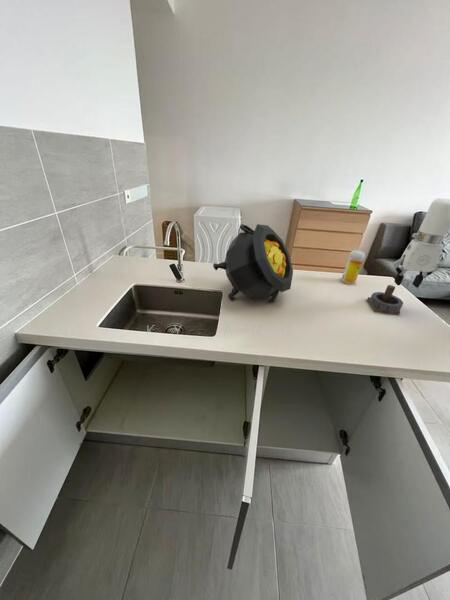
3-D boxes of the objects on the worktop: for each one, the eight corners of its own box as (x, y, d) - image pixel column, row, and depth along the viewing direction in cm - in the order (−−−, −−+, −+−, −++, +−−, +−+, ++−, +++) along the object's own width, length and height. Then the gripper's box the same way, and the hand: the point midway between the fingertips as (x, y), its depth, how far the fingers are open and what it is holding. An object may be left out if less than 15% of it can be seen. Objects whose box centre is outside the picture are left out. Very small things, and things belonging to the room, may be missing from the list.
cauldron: (247, 263, 118) (293, 240, 104) (251, 316, 106) (304, 299, 92) (206, 235, 99) (255, 203, 84) (206, 297, 87) (264, 271, 72)
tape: (393, 299, 101) (396, 293, 100) (405, 313, 92) (408, 308, 91) (366, 295, 103) (368, 290, 101) (375, 309, 94) (377, 304, 92)
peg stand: (389, 302, 102) (398, 282, 97) (398, 314, 94) (409, 293, 89) (366, 300, 103) (375, 280, 98) (374, 311, 95) (383, 290, 90)
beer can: (357, 284, 114) (368, 254, 107) (344, 284, 114) (354, 254, 106) (351, 279, 120) (361, 249, 112) (339, 278, 119) (348, 249, 112)
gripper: (407, 238, 80) (385, 286, 90) (464, 244, 78) (436, 292, 88) (397, 232, 87) (378, 278, 96) (450, 237, 85) (425, 283, 94)
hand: (406, 284), depth 92 cm, fingers open, 5 cm apart
